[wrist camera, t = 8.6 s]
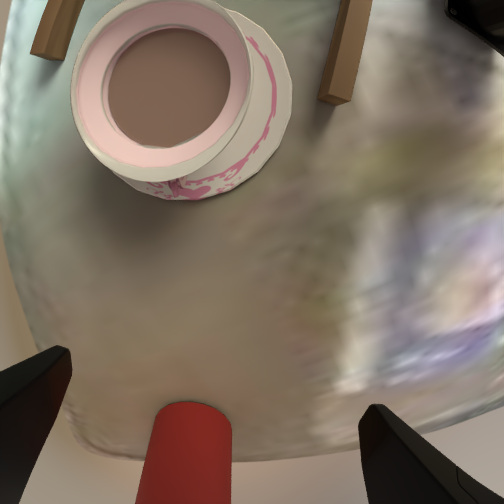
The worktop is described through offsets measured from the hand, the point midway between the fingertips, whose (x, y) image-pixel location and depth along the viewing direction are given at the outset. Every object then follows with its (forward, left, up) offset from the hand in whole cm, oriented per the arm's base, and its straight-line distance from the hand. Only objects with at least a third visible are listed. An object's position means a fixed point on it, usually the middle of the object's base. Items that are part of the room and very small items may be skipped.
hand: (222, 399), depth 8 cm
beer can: (0, +16, -12) cm, 20 cm away
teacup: (+5, -8, -12) cm, 16 cm away
